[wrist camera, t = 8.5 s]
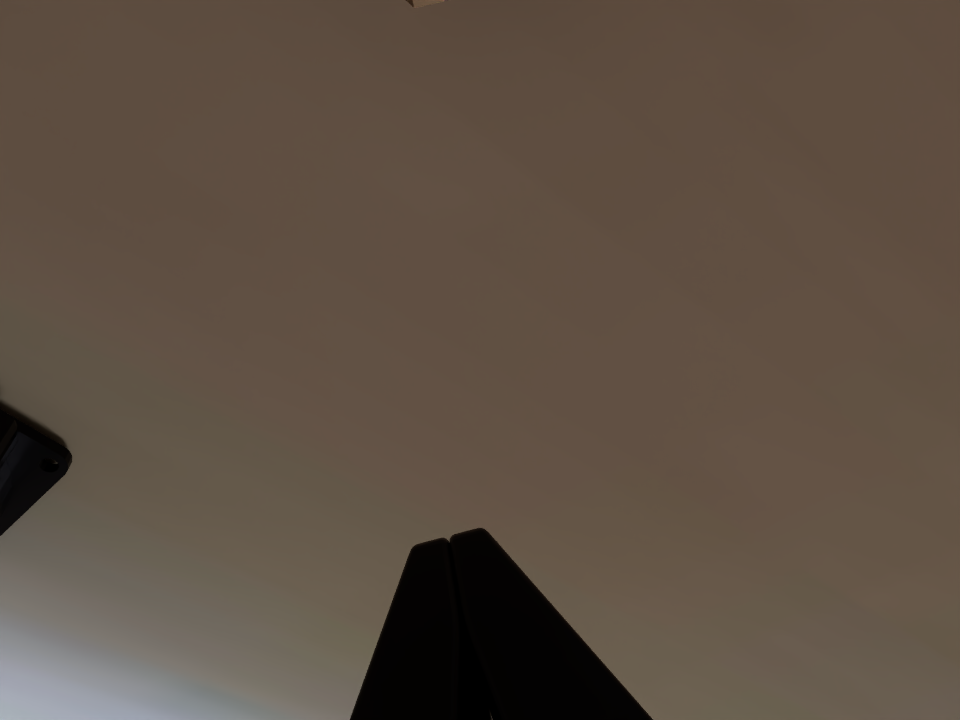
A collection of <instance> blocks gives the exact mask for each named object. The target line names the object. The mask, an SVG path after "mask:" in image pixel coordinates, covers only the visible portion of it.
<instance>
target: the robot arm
mask: <svg viewBox="0 0 960 720" xmlns="http://www.w3.org/2000/svg"><path fill="white" fill-rule="evenodd" d="M45 458H50V459H53V460H55V461H56V462H57V463H58V464H52V463H49V462H47V461H46V460H45ZM71 462H72V455H71V453H70V451H69V450H68V449H67V448H65V447H64V446H62V445H61V444H59V443H57V442H56V441H54V440H52V439H50V438H49V437H47V436H45V435H44V434H42V433H40V432H38V431H37V430H35V429H33V428H32V427H30V426H28V425H27V424H25V423H23V422H21V421H20V420H18V419H16V418H15V417H13V416H11V415H9V414H8V413H6V412H4V411H3V410H1V409H0V536H1V535H2V534H3V533H4V532H5V531H6V530H7V529H8V528H9V527H10V526H11V525H12V524H13V523H15V522H16V521H17V520H18V519H19V518H20V517H21V516H22V515H23V514H24V513H25V512H26V511H27V510H28V509H29V508H30V507H31V506H32V505H33V504H34V503H36V502H37V501H38V500H39V499H40V498H41V497H42V496H43V495H44V494H45V493H46V492H47V491H48V490H49V489H50V488H51V487H52V486H53V485H54V484H55V483H56V482H58V481H59V480H60V479H61V478H62V477H63V476H64V475H65V474H66V472H67V470H68V469H69V466H70V464H71ZM491 716H492V717H491ZM492 719H493V720H653V719H652V718H651V717H650V716H649V715H648V713H647V712H646V711H645V710H644V709H643V708H642V707H641V705H640V704H639V703H638V702H637V701H636V700H635V699H634V697H633V696H632V695H631V694H630V693H629V692H628V691H627V689H626V688H625V687H624V686H623V685H622V684H621V683H620V682H619V680H618V679H617V678H616V677H615V676H614V675H613V674H612V672H611V671H610V670H609V669H608V668H607V667H606V666H605V664H604V663H603V662H602V661H601V660H600V659H599V658H598V656H597V655H596V654H595V653H594V652H593V651H592V650H591V648H590V647H589V646H588V645H587V644H586V643H585V642H584V641H583V639H582V638H581V637H580V636H579V635H578V634H577V633H576V631H575V630H574V629H573V628H572V627H571V626H570V625H569V623H568V622H567V621H566V620H565V619H564V618H563V617H562V615H561V614H560V613H559V612H558V611H557V610H556V609H555V608H554V606H553V605H552V604H551V603H550V602H549V601H548V600H547V598H546V597H545V596H544V595H543V594H542V593H541V592H540V590H539V589H538V588H537V587H536V586H535V585H534V584H533V582H532V581H531V580H530V579H529V578H528V577H527V576H526V574H525V573H524V572H523V571H522V570H521V569H520V568H519V567H518V565H517V564H516V563H515V562H514V561H513V560H512V559H511V557H510V556H509V555H508V554H507V553H506V552H505V551H504V549H503V548H502V547H501V546H500V545H499V544H498V543H497V541H496V540H495V539H494V538H493V537H492V536H491V535H490V534H489V532H488V531H486V530H485V529H483V528H477V529H473V530H469V531H465V532H461V533H458V534H454V535H452V536H451V538H450V543H449V541H448V540H447V539H446V538H439V539H435V540H431V541H427V542H424V543H420V544H417V545H415V546H414V547H413V548H412V549H411V551H410V553H409V556H408V559H407V561H406V564H405V567H404V570H403V572H402V575H401V578H400V581H399V584H398V586H397V589H396V592H395V595H394V598H393V600H392V603H391V606H390V609H389V612H388V614H387V617H386V620H385V623H384V626H383V628H382V631H381V634H380V637H379V640H378V642H377V645H376V648H375V651H374V654H373V656H372V659H371V662H370V665H369V667H368V670H367V673H366V676H365V679H364V681H363V684H362V687H361V690H360V693H359V695H358V698H357V701H356V704H355V707H354V709H353V712H352V715H351V718H350V720H492Z"/></svg>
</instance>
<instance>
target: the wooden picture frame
mask: <svg viewBox="0 0 960 720" xmlns="http://www.w3.org/2000/svg"><path fill="white" fill-rule="evenodd" d="M406 1H407V2H408V3H409V4H410V5H412V6H413V7H414V8H417V7H421V6H426V5H430V4H435V3H439V2H443V1H448V0H406Z"/></svg>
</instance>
